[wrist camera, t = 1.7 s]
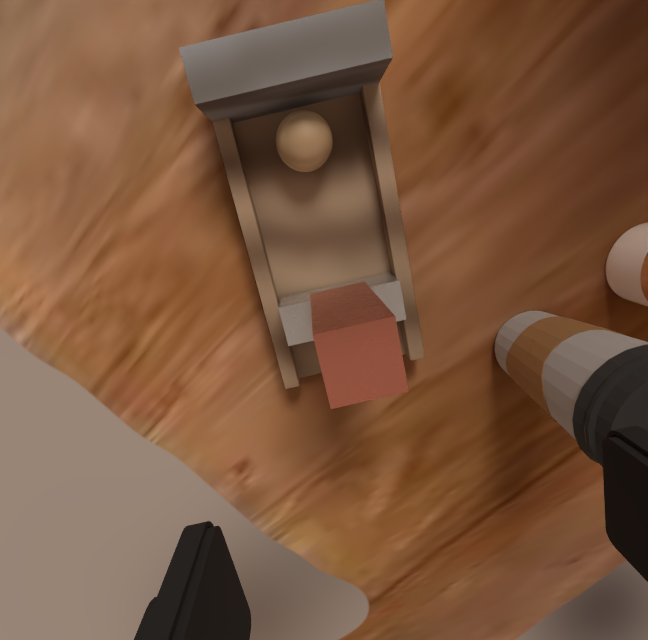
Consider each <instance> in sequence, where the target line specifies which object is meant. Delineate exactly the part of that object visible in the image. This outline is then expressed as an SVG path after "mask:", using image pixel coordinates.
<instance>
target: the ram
mask: <svg viewBox="0 0 648 640" xmlns="http://www.w3.org/2000/svg"><path fill="white" fill-rule="evenodd" d="M278 309H279V312H280V316H281V320H282V324H283V328H284V331H285V335H286V339H287V343H288V346H292V345H296V344H301V343H305V342H309V341H314V343H315V347H316V351H317V355H318V359H319V363H320V367H321V371H322V375H323V380H324V384H325V388H326V392H327V396H328V400H329V404H330V408H331V409H334V408H338V407H343V406H347V405H352V404H356V403H361V402H365V401H370V400H374V399H378V398H383V397H387V396H392V395H396V394H401V393H405V392H409V389H408V384H407V378H406V373H405V367H404V362H403V356H402V351H401V345H400V339H399V334H398V328H397V323H396V322H397V321H402V320H406V314H405V308H404V302H403V296H402V291H401V285H400V280H399V279H397V278H396V277H394V276H393V275H391V274H390V273H384V274H380V275H375V276H371V277H366V278H362V279H358V280H353V281H349V282H345V283H340V284H336V285H332V286H327V287H323V288H319V289H314V290H310V291H306V292H301V293H297V294H293V295H288V296H284V297H282V298H281V301H280V304H279V308H278Z"/></svg>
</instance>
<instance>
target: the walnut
mask: <svg viewBox="0 0 648 640" xmlns="http://www.w3.org/2000/svg"><path fill="white" fill-rule="evenodd" d="M332 144H333V139H332V133H331V130H330V127H329V125H328V124H327V122H326V121H325V120H324V119H323V117H321V116H320V115H319V114H317V113H315V112H313V111H310V110H297V111H294V112H292V113H290V114H289V115H287V116H286V117H285V118H284V119H283V121H282V122H281V123H280V125H279V127H278V130H277V134H276V146H277V150H278V153H279V155H280V157H281V159H282V160H283V162H284V163H285V164H286V165H288V166H289V167H290V168H292V169H294V170H296V171H300V172H310V171H313V170H316V169H318V168H319V167H321V166H322V165H323V164H324V163H325V162H326V161H327V159H328V158H329V156H330V153H331V150H332Z"/></svg>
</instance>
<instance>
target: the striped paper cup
mask: <svg viewBox="0 0 648 640" xmlns="http://www.w3.org/2000/svg"><path fill="white" fill-rule="evenodd" d="M605 270H606V278H607V282H608V284H609V286H610V288H611V289H612V290H613V292H614V293H615V294H617V295H618V296H620V297H621V298H623V299H626V300H629V301H632V302H635V303H638V304H641V305H644V306H647V307H648V222H646V223H642V224H639V225H636V226H634V227H632V228H630V229H629V230H627V231H626V232H625V233H624V234H622V235H621V236H620V237H619V238H618V239H617V241H616V242H615V243H614V245H613V246H612V248H611V250H610V252H609V254H608V257H607V261H606V268H605Z"/></svg>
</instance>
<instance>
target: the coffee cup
mask: <svg viewBox="0 0 648 640" xmlns="http://www.w3.org/2000/svg"><path fill="white" fill-rule="evenodd" d="M495 355H496V359H497V361H498V363H499V365H500V367H501V368H502V369H503V370H504V371H505V372H506V373H507V374H508V375H509V376H510V377H511V379H512V380H513V381H514V382H515V383H516V384H517V385H518V386H519V387H520V388H521V389H522V390H523V391H524V392H525V393H526V394H527V395H529V396H530V397H531V398H532V399H533V400H534V401H535V402H536V403H537V404H538V405H539V406H540V407H541V408H542V409H543V410H544V411H545V412H546V413H547V414H548V415H549V416H550V417H551V418H552V419H553V420H554V421H555V422H558V423H559V424H560V425H561V426H562V427H563V428H564V429H565V430H566V431H567V432H568V433H569V434H570V435H571V436H572V437H573V438H574V439H575V440H576V441H577V442H578V444H579V447H580V449H581V450H582V451H583V452H584V453H585V454H586V455H587V456H588V457H589V458H590V459H592V460H593V461H595V462H597V463H599V464H600V465H601V466H602V467H603V451H602V442H603V440H604V439H606V438H607V434H608V432H609V431H612V430H616V429H620V428H625V427H629V426H633V425H634V426H639V427H642V428H643V429H645V430H647V431H648V342H646V341H642V340H639V339H636V338H632V337H629V336H625V335H623V334H621V333H619V332H616V331H613V330H609V329H606V328H602V327H599V326H595V325H592V324H588V323H585V322H581V321H578V320H574V319H571V318H567V317H563V316H557V315H553V314H550V313H546V312H542V311H527V312H523V313H520V314H518V315H516V316H514V317H512V318H510V319H509V320H508V321H507V322H506V323H505V324H503V326H502V327H501V329H500V330H499V332H498V334H497V337H496V339H495Z"/></svg>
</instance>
